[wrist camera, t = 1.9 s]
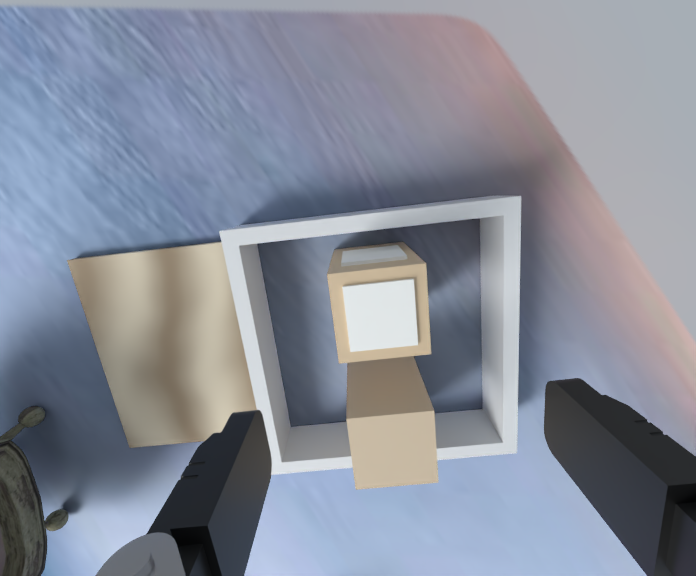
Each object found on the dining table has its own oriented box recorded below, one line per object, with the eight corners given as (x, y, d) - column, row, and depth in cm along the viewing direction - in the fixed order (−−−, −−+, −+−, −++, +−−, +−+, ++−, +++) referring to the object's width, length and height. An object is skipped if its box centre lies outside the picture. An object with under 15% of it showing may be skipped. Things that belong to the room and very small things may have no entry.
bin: (494, 195, 24) (521, 195, 20) (494, 418, 29) (517, 452, 25) (239, 225, 25) (219, 231, 21) (281, 437, 29) (270, 474, 26)
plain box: (410, 349, 27) (434, 410, 20) (414, 404, 29) (438, 482, 21) (347, 355, 27) (346, 418, 20) (354, 409, 29) (355, 489, 21)
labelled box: (402, 238, 25) (426, 260, 17) (407, 307, 26) (432, 355, 18) (333, 246, 25) (326, 271, 17) (342, 313, 27) (338, 365, 19)
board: (235, 239, 25) (231, 241, 24) (273, 428, 29) (271, 434, 28) (75, 258, 25) (67, 260, 25) (135, 441, 30) (129, 447, 29)
